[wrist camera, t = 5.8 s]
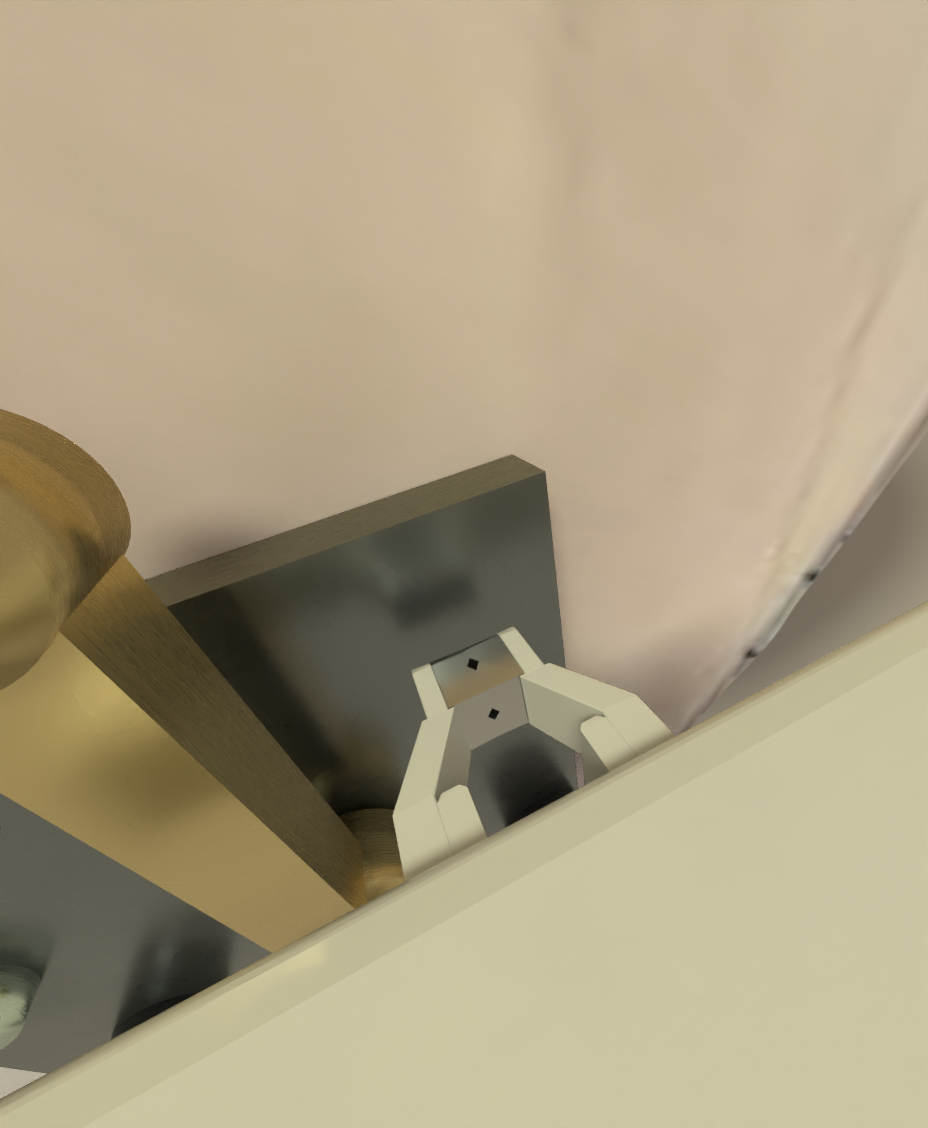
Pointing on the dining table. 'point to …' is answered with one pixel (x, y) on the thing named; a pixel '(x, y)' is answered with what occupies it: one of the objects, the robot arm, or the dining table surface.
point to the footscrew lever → (152, 721)
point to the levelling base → (292, 733)
